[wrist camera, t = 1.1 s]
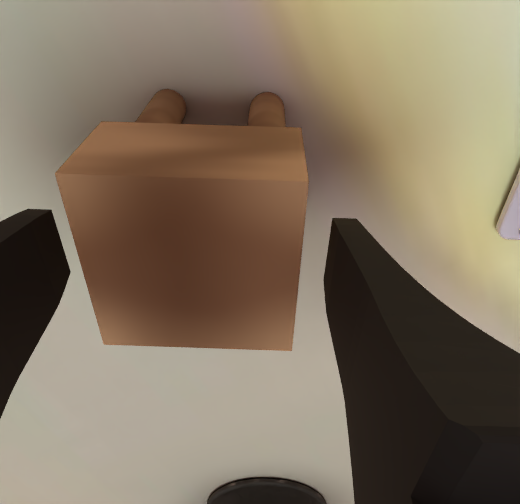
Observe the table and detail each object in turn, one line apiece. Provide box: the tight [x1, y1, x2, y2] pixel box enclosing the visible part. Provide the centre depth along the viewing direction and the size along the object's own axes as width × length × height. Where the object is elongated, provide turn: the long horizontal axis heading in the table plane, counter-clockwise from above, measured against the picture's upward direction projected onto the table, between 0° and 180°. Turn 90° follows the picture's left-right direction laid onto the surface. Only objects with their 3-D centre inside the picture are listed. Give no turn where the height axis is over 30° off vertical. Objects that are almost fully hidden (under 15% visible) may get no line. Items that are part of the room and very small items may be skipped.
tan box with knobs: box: [55, 89, 309, 351], centre depth 13 cm, size 5×5×7 cm
